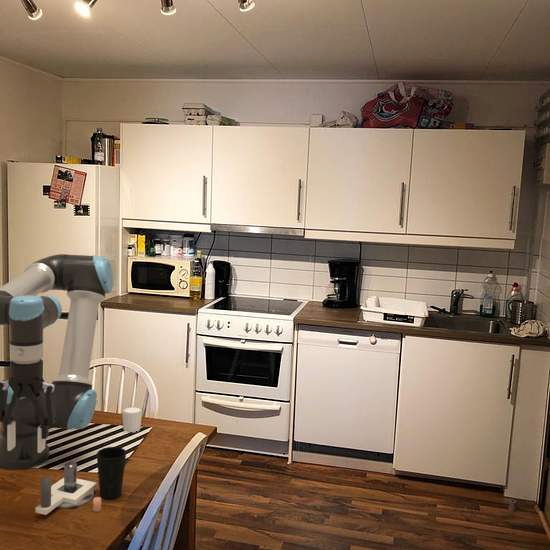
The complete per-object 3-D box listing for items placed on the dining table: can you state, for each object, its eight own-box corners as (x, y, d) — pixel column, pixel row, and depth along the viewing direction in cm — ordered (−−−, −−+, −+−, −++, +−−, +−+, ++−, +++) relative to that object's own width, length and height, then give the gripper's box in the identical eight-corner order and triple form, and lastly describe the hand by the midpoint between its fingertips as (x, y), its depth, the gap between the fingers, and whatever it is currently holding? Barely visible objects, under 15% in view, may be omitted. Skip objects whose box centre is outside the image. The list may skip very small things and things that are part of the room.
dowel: (91, 510, 154) (91, 499, 154) (95, 507, 156) (96, 496, 156) (98, 512, 154) (98, 501, 153) (102, 508, 156) (102, 497, 155)
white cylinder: (146, 428, 209) (146, 409, 208) (131, 434, 203) (132, 415, 202) (132, 423, 212) (132, 404, 211) (117, 429, 206) (117, 410, 205)
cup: (109, 504, 158) (110, 461, 156) (89, 495, 162) (90, 453, 160) (131, 493, 164) (132, 451, 163) (111, 485, 168) (112, 444, 167)
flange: (65, 480, 167) (66, 452, 166) (97, 487, 164) (97, 458, 163) (23, 509, 151) (23, 478, 150) (57, 517, 148) (57, 486, 147)
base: (36, 502, 157) (36, 469, 156) (65, 482, 168) (65, 451, 167) (75, 511, 154) (76, 478, 152) (102, 490, 165) (102, 459, 164)
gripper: (-22, 361, 143) (-21, 453, 146) (60, 366, 142) (59, 458, 145) (-6, 353, 150) (-6, 440, 153) (72, 358, 150) (71, 445, 153)
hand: (26, 449), depth 149 cm, fingers open, 7 cm apart
